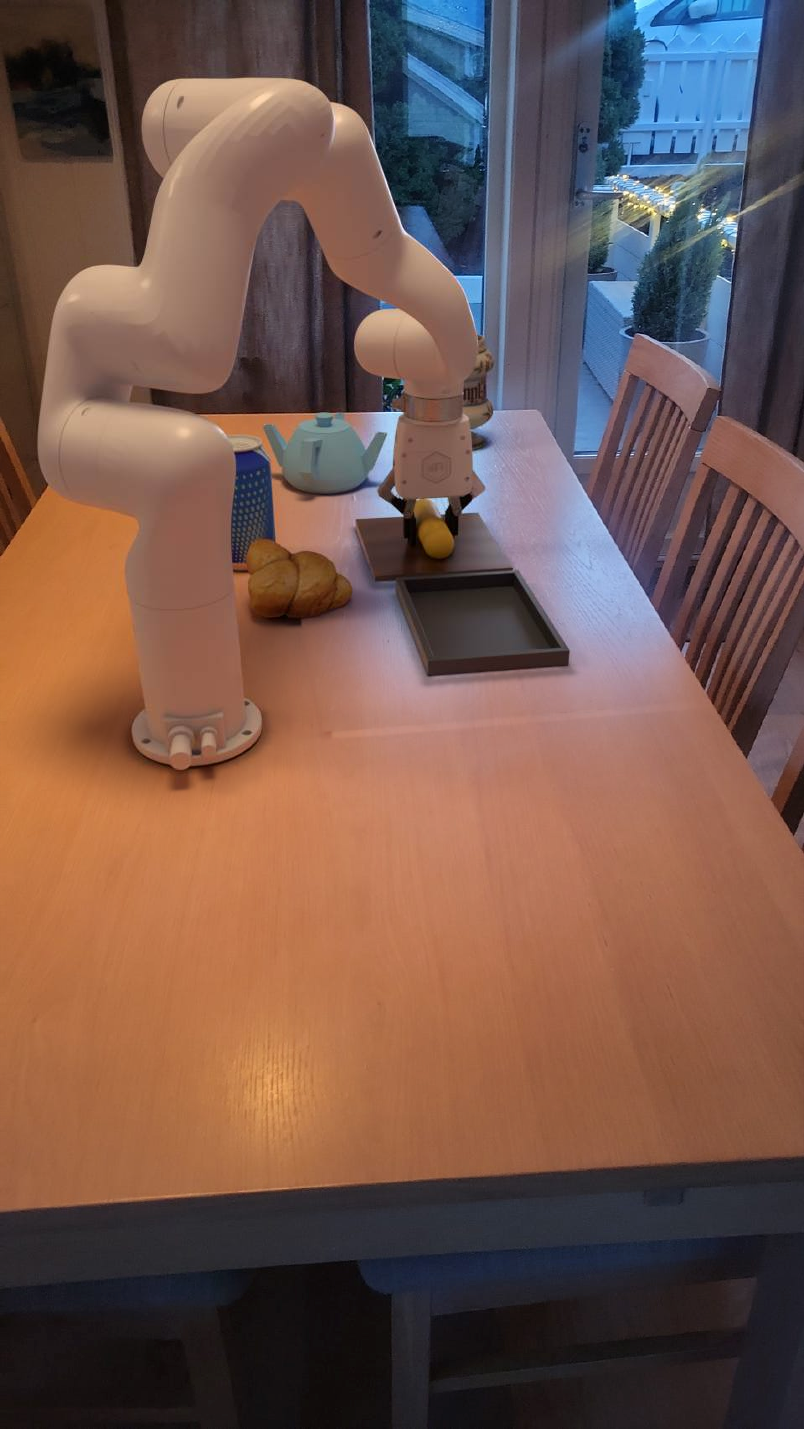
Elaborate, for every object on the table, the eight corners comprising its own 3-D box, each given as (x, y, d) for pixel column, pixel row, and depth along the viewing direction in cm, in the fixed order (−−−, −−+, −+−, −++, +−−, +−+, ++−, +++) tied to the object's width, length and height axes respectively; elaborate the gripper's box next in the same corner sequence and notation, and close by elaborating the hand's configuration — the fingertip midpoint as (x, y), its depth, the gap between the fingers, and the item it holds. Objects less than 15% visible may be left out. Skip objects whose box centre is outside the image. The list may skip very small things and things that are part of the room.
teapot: (261, 475, 167) (257, 409, 161) (343, 460, 173) (341, 396, 168) (305, 504, 156) (301, 433, 150) (389, 487, 162) (389, 418, 157)
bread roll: (355, 593, 129) (353, 533, 125) (349, 628, 121) (347, 565, 116) (252, 591, 129) (248, 531, 125) (240, 626, 121) (234, 563, 117)
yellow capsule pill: (456, 563, 133) (458, 534, 131) (425, 564, 133) (427, 535, 131) (434, 521, 146) (435, 494, 144) (406, 522, 145) (407, 495, 143)
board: (512, 578, 133) (513, 567, 132) (374, 587, 130) (374, 576, 130) (477, 522, 150) (478, 512, 149) (355, 528, 147) (355, 519, 146)
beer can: (217, 576, 133) (205, 454, 125) (210, 551, 140) (198, 434, 131) (281, 569, 135) (274, 449, 126) (271, 545, 142) (263, 430, 133)
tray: (567, 671, 112) (570, 650, 111) (427, 682, 110) (428, 661, 109) (517, 588, 130) (518, 569, 129) (395, 596, 128) (396, 577, 127)
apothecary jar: (417, 434, 186) (419, 330, 177) (482, 431, 188) (486, 328, 179) (431, 454, 176) (433, 346, 167) (499, 451, 178) (505, 343, 169)
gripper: (370, 417, 125) (372, 556, 135) (505, 412, 128) (497, 548, 137) (362, 401, 132) (365, 534, 141) (491, 396, 134) (484, 528, 144)
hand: (430, 540), depth 139 cm, fingers open, 4 cm apart
